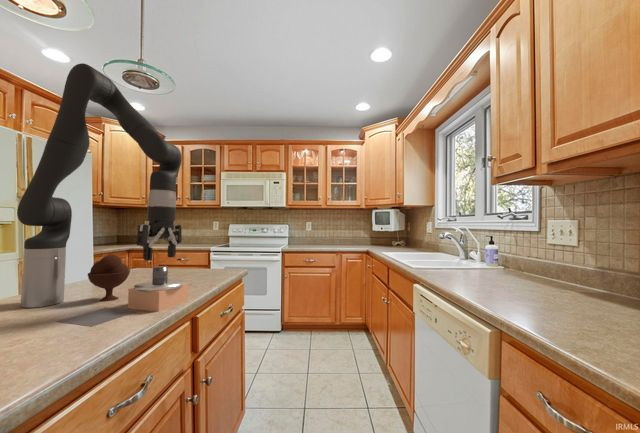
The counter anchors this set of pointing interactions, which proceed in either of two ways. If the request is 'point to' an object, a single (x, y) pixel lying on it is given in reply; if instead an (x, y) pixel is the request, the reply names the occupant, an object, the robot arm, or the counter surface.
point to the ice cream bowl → (108, 275)
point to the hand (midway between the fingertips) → (160, 258)
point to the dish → (157, 298)
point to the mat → (97, 317)
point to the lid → (159, 281)
